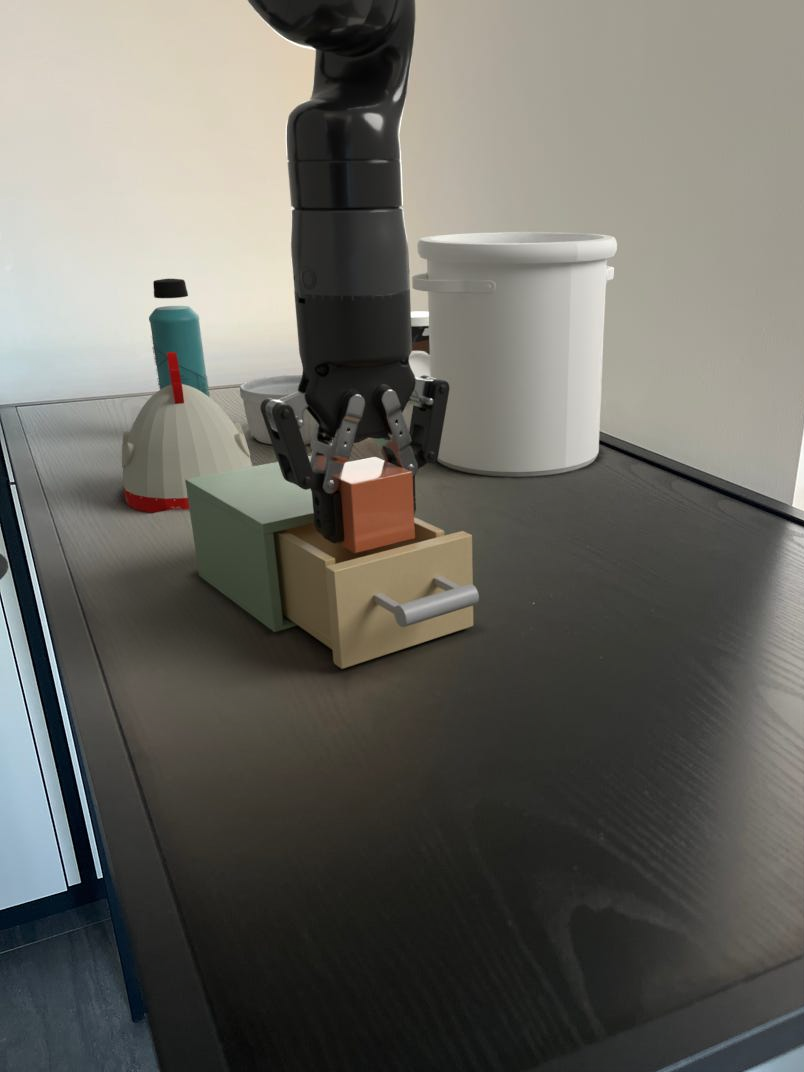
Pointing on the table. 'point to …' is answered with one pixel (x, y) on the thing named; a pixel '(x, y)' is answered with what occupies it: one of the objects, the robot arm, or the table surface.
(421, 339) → the spread jar
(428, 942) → the table surface
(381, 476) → the block
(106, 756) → the table surface
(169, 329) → the beverage bottle
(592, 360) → the bucket
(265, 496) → the cabinet
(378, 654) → the drawer
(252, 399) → the ramekin
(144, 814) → the table surface
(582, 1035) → the table surface
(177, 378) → the kitchen timer
